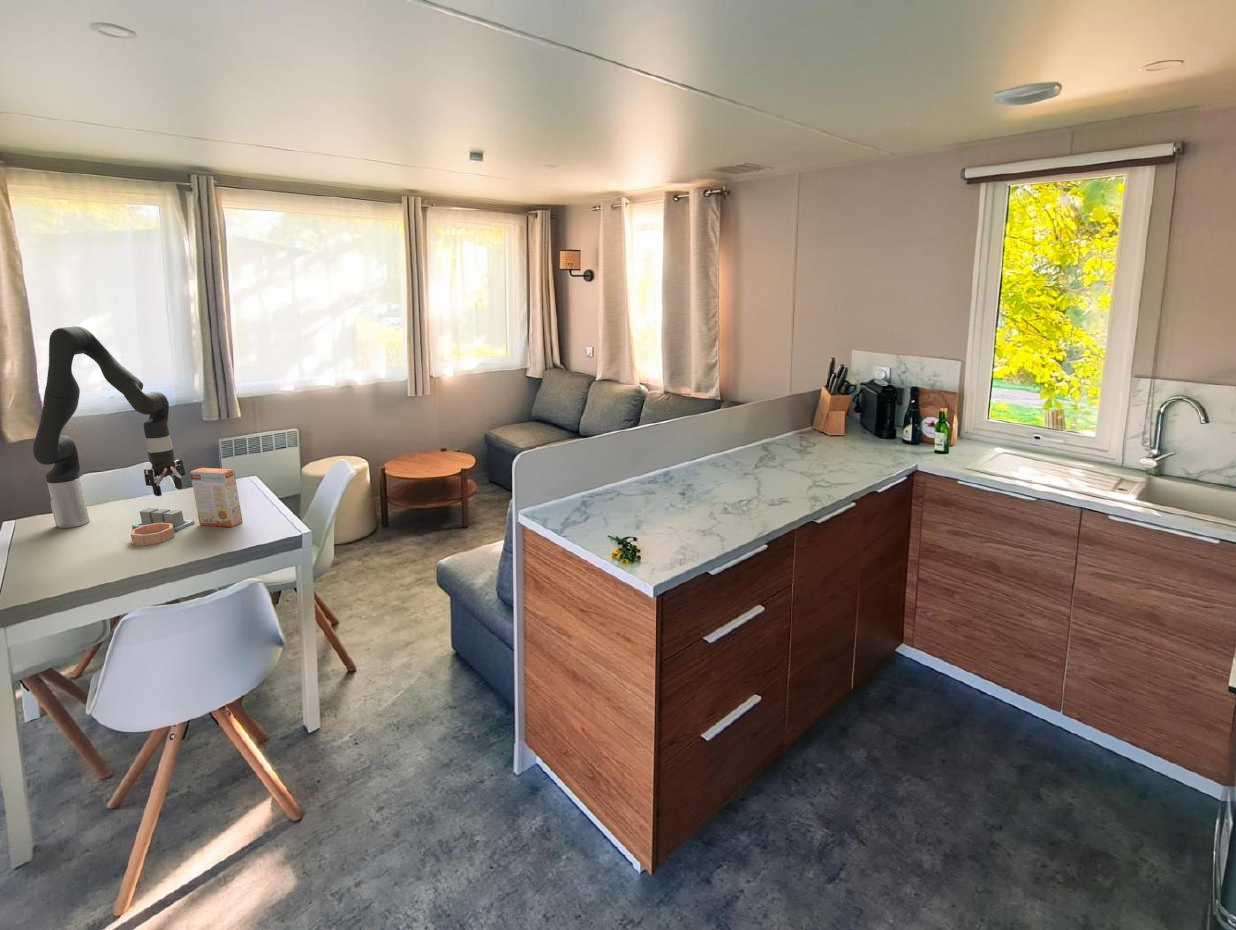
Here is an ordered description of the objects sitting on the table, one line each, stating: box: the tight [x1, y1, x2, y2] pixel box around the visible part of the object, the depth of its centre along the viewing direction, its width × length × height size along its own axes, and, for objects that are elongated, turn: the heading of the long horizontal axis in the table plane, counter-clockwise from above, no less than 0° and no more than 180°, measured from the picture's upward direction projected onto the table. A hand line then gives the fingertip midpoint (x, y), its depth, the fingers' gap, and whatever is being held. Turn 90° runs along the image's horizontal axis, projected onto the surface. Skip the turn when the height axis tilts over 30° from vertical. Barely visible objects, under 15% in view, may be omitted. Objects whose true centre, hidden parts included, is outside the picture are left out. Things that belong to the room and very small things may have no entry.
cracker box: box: [189, 467, 243, 528], centre depth 241 cm, size 14×6×21 cm, turn 78°
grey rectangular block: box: [163, 509, 185, 528], centre depth 239 cm, size 4×4×6 cm
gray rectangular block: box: [151, 508, 171, 523], centre depth 240 cm, size 4×4×6 cm
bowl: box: [130, 522, 175, 546], centre depth 229 cm, size 12×12×4 cm
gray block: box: [139, 507, 159, 526], centre depth 241 cm, size 4×4×6 cm
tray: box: [131, 519, 195, 533], centre depth 241 cm, size 18×9×1 cm, turn 78°
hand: (168, 492), depth 236 cm, fingers open, 8 cm apart
